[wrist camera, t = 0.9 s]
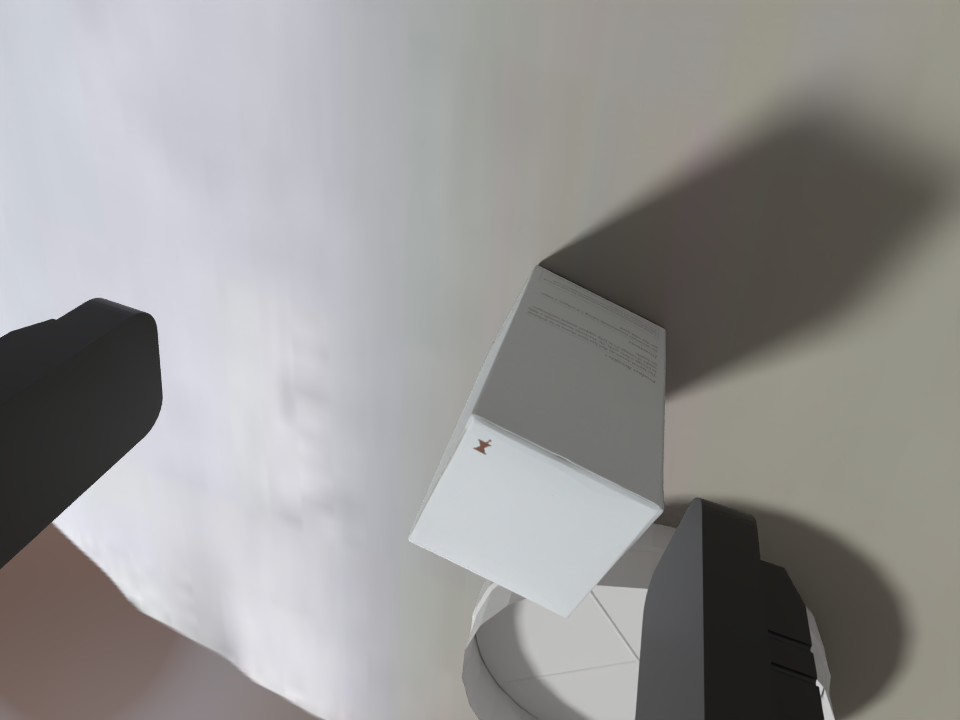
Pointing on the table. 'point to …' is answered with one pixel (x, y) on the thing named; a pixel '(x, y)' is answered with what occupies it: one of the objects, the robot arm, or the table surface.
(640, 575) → the dish
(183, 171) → the table surface
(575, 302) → the supplement box
